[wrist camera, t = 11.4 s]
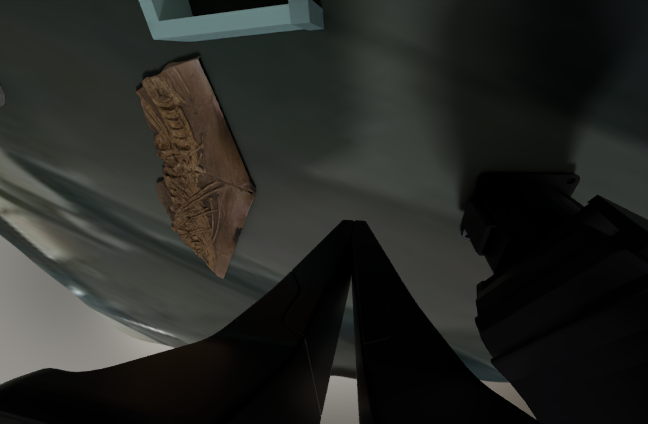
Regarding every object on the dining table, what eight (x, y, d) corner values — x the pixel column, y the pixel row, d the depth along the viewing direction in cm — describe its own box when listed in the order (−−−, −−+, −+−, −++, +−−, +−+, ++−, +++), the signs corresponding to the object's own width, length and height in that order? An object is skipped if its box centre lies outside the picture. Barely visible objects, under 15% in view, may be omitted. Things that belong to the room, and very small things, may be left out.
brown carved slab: (128, 35, 18) (116, 34, 17) (266, 74, 18) (261, 75, 17) (176, 261, 33) (171, 266, 32) (252, 283, 33) (248, 290, 32)
